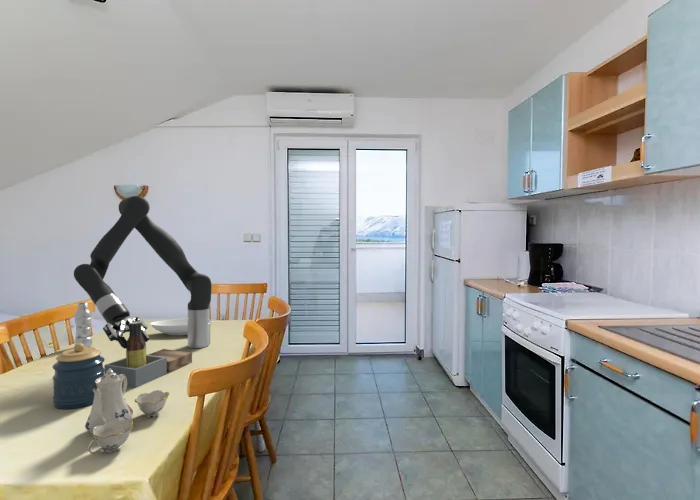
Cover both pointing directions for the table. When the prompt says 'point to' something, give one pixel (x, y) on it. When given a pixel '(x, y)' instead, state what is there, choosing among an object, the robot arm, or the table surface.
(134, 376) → the tub
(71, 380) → the canister
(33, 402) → the table surface
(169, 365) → the block
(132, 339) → the sauce bottle
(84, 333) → the plastic bottle
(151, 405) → the chinaware
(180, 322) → the bowl
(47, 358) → the table surface
